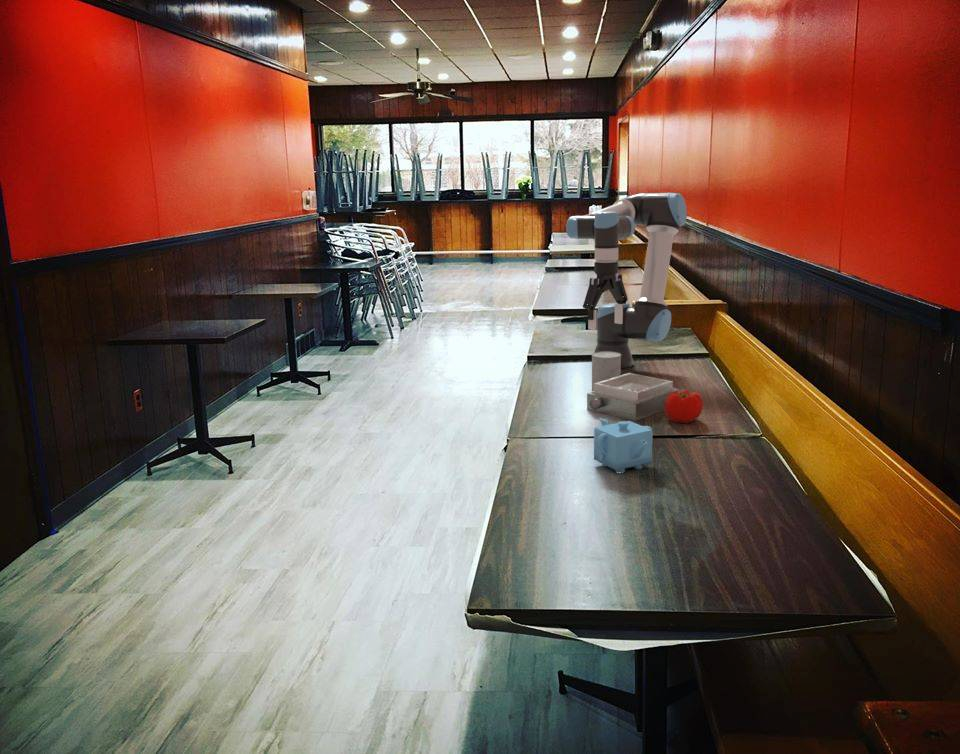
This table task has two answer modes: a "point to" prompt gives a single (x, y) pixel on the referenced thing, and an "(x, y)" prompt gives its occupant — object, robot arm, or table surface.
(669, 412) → the tomato
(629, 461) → the teapot
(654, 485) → the table surface
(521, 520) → the table surface
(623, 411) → the gearbox
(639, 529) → the table surface
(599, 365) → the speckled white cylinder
